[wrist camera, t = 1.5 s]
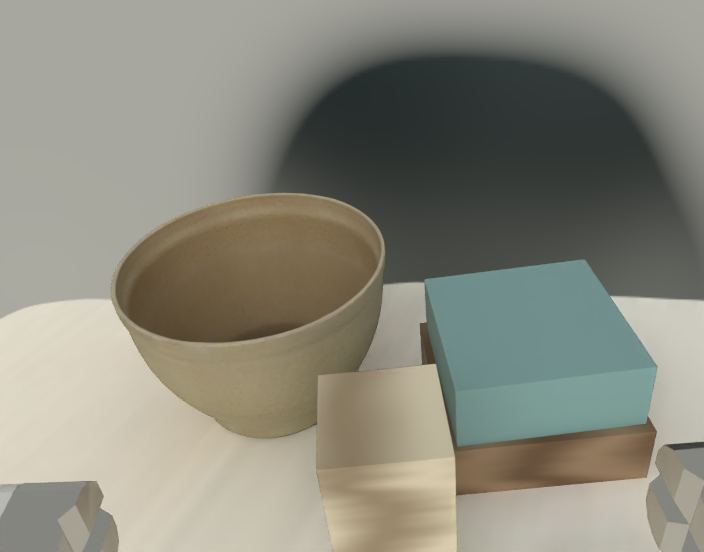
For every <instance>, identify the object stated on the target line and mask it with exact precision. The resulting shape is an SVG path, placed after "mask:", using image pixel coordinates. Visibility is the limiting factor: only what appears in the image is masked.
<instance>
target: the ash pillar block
mask: <svg viewBox="0 0 704 552" xmlns="http://www.w3.org/2000/svg"><path fill="white" fill-rule="evenodd" d="M316 471H317V476H318V481H319V486H320V491H321V496H322V501H323V506H324V511H325V516H326V521H327V526H328V531H329V536H330V541H331V546H332V551H333V552H457V522H456V476H455V454H454V449H453V445H452V440H451V435H450V430H449V425H448V420H447V415H446V411H445V406H444V401H443V396H442V391H441V386H440V382H439V377H438V372H437V367H436V364H429V365H419V366H409V367H399V368H389V369H378V370H368V371H358V372H348V373H338V374H327V375H318V402H317V460H316Z"/></svg>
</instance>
